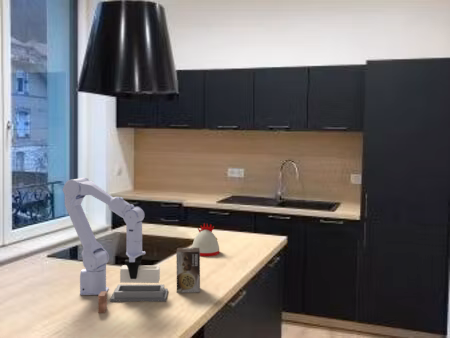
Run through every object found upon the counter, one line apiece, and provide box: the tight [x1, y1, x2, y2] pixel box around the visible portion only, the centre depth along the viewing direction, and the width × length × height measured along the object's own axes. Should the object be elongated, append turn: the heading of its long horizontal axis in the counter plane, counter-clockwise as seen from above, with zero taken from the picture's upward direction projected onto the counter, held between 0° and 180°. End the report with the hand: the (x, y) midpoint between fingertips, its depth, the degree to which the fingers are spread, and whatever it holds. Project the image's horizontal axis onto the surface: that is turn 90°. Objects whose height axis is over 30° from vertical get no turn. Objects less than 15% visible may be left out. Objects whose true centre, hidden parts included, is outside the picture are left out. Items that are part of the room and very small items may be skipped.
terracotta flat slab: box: [97, 291, 108, 314], centre depth 183 cm, size 2×5×6 cm, turn 3°
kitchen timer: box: [191, 223, 220, 257], centre depth 265 cm, size 14×14×15 cm
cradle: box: [109, 284, 169, 303], centre depth 199 cm, size 20×12×3 cm, turn 93°
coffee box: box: [175, 247, 201, 294], centre depth 206 cm, size 9×6×16 cm
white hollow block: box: [119, 264, 161, 284], centre depth 198 cm, size 6×14×5 cm, turn 93°
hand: (134, 276), depth 198 cm, fingers closed on white hollow block, 5 cm apart
